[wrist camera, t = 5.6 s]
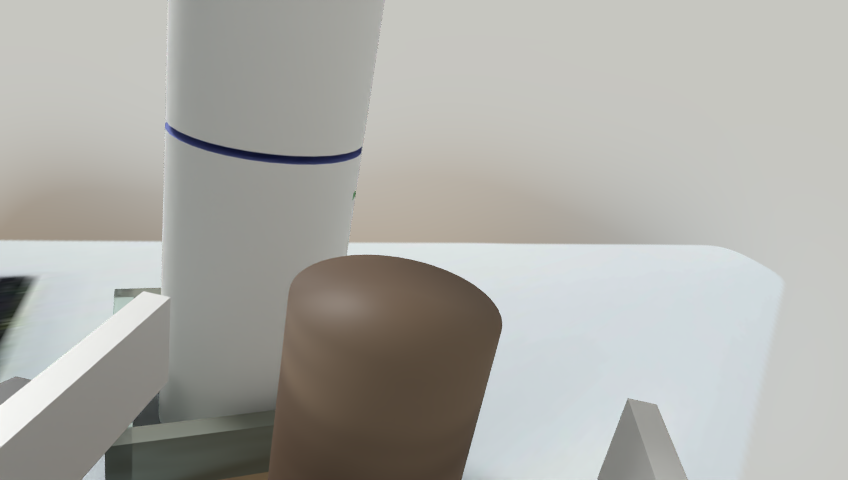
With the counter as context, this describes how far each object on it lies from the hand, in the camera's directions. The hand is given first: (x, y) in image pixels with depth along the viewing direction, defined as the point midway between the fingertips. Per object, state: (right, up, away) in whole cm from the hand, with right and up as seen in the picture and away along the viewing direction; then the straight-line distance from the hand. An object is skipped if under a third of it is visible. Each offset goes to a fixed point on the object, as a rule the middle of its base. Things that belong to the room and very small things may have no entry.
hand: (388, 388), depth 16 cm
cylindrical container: (-7, -4, +11) cm, 14 cm away
